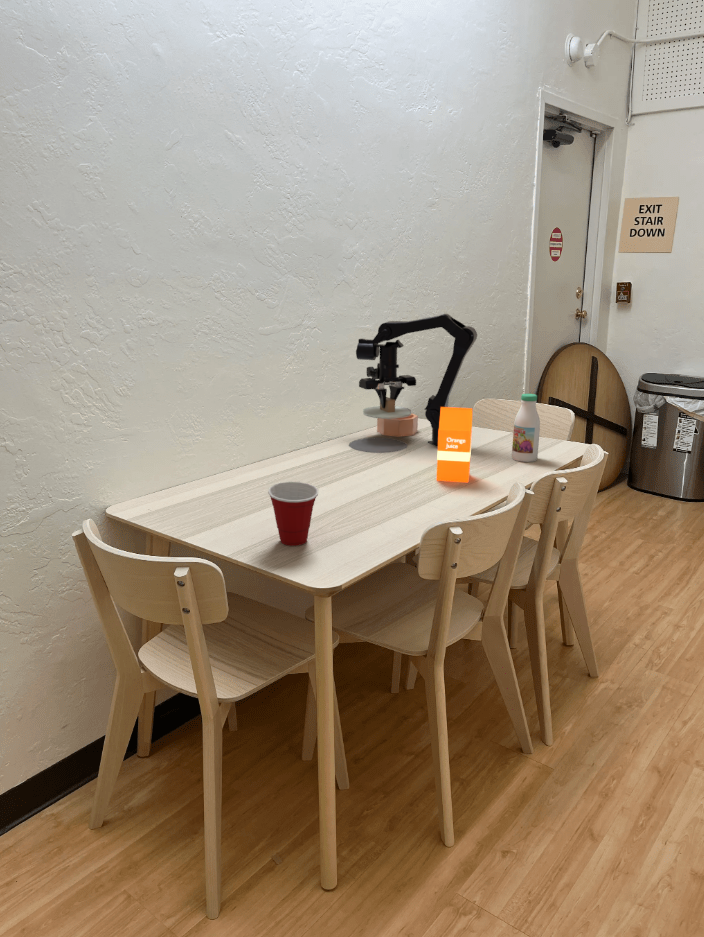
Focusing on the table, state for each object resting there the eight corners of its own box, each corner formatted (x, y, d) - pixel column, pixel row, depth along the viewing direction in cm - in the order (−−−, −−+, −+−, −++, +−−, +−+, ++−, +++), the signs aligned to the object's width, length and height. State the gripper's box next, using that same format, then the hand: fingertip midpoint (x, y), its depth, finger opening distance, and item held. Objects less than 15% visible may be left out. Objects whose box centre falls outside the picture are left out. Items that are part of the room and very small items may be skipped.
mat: (417, 450, 227) (417, 449, 227) (363, 456, 220) (363, 455, 220) (391, 436, 244) (391, 435, 244) (340, 441, 237) (340, 440, 237)
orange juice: (468, 482, 195) (472, 411, 190) (436, 480, 197) (438, 409, 191) (469, 474, 203) (473, 405, 197) (438, 472, 204) (441, 404, 199)
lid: (420, 416, 234) (420, 401, 232) (376, 420, 227) (377, 405, 226) (396, 406, 248) (397, 392, 246) (355, 411, 241) (355, 396, 240)
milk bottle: (521, 454, 223) (526, 391, 218) (542, 459, 218) (548, 395, 212) (506, 458, 219) (510, 394, 213) (527, 464, 213) (532, 398, 207)
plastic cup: (285, 555, 148) (284, 500, 144) (260, 539, 156) (258, 487, 153) (329, 543, 154) (328, 490, 150) (302, 528, 162) (301, 478, 159)
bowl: (422, 434, 247) (423, 418, 245) (388, 438, 242) (388, 421, 240) (405, 426, 258) (405, 410, 256) (372, 430, 253) (372, 413, 251)
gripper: (401, 356, 243) (400, 401, 248) (351, 359, 236) (351, 405, 240) (417, 360, 234) (416, 407, 238) (366, 363, 226) (366, 412, 230)
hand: (387, 407), depth 237 cm, fingers closed on lid, 2 cm apart
